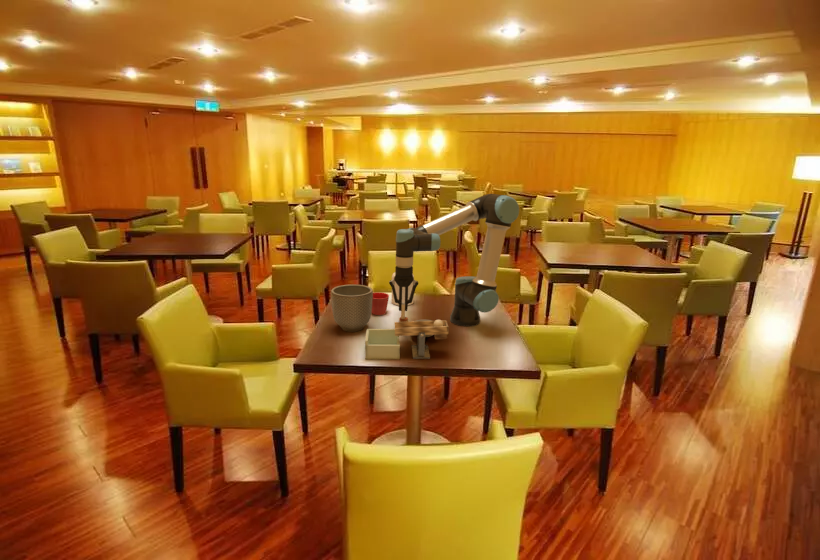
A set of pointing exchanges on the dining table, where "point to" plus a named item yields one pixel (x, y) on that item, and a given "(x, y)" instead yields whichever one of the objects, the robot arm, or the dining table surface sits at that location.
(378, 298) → the flower pot
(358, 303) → the planter
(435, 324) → the ball
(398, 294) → the white bottle
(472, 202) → the robot arm
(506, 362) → the dining table surface
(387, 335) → the cream open box
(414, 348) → the stand
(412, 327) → the lever
